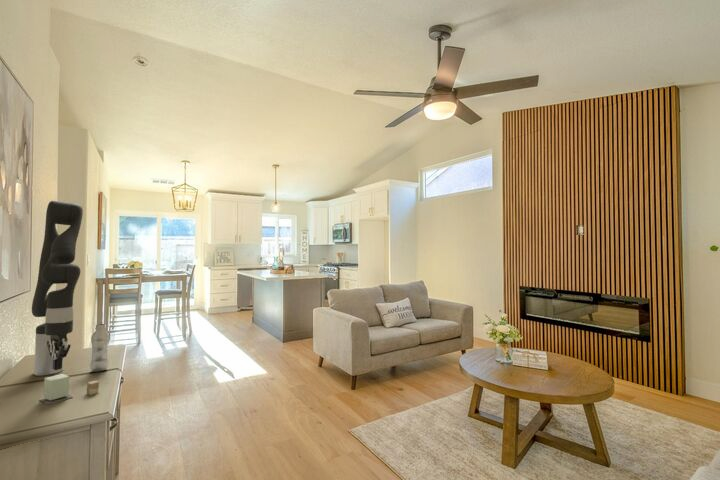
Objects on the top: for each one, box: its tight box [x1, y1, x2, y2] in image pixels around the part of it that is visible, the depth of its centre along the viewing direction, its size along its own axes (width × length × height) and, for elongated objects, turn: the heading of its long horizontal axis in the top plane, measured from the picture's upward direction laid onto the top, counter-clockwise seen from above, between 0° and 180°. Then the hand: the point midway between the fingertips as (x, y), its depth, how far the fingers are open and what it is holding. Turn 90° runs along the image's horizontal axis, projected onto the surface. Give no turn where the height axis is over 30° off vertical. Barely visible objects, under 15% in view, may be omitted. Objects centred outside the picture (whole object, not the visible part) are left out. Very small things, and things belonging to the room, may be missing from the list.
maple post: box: [86, 380, 100, 396], centre depth 128 cm, size 3×3×4 cm
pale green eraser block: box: [43, 373, 70, 400], centre depth 123 cm, size 5×5×7 cm
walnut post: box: [38, 394, 74, 406], centre depth 123 cm, size 7×7×7 cm
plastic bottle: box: [89, 323, 110, 373], centre depth 152 cm, size 6×7×20 cm
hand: (57, 369), depth 123 cm, fingers closed
